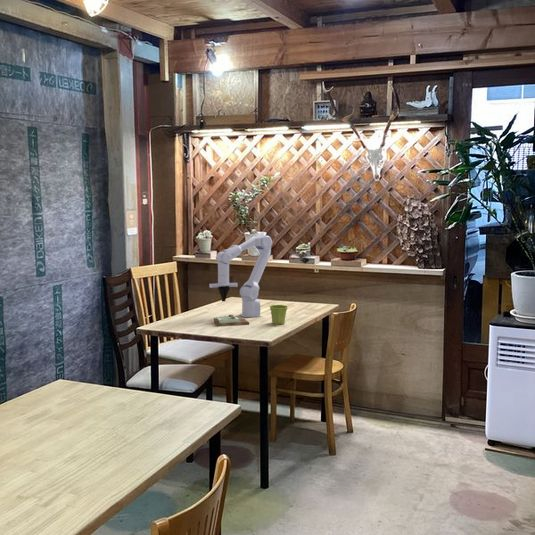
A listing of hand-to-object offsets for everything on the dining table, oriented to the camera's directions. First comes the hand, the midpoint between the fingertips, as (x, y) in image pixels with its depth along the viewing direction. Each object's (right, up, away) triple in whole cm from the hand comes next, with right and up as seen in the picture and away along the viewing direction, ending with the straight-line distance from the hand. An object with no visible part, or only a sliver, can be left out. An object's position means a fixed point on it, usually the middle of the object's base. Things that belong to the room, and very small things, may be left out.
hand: (223, 301), depth 318 cm
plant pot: (+28, -11, -9) cm, 32 cm away
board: (+5, -11, -10) cm, 15 cm away
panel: (+3, -9, -11) cm, 15 cm away
